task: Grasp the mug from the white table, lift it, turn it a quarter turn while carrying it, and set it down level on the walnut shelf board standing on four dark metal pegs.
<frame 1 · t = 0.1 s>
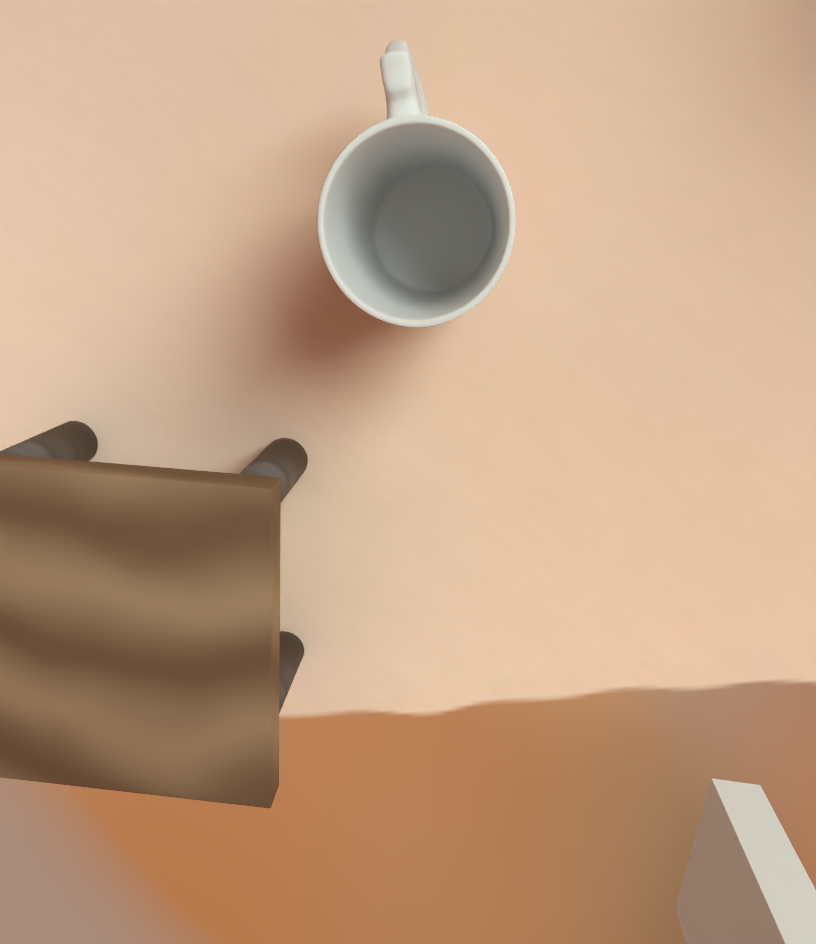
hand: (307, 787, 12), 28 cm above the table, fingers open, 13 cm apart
mug: (429, 197, 36), on the table
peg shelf: (184, 548, 42), on the table
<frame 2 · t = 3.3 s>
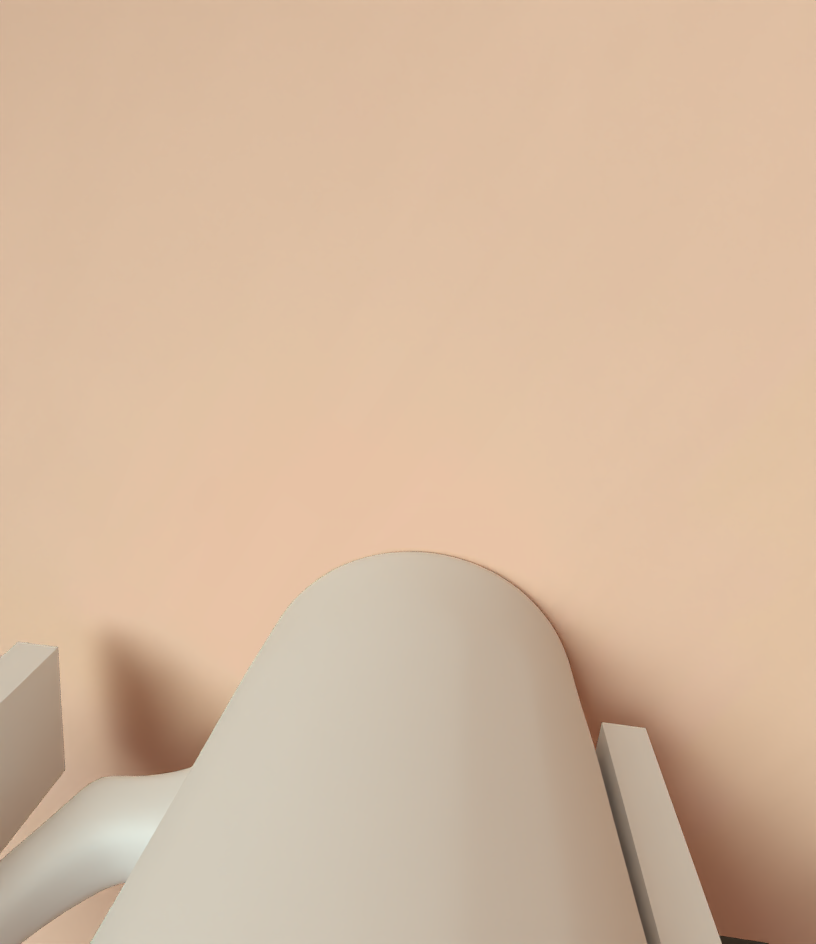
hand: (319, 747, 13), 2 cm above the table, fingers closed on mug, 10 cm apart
mug: (339, 686, 15), on the table, touching gripper
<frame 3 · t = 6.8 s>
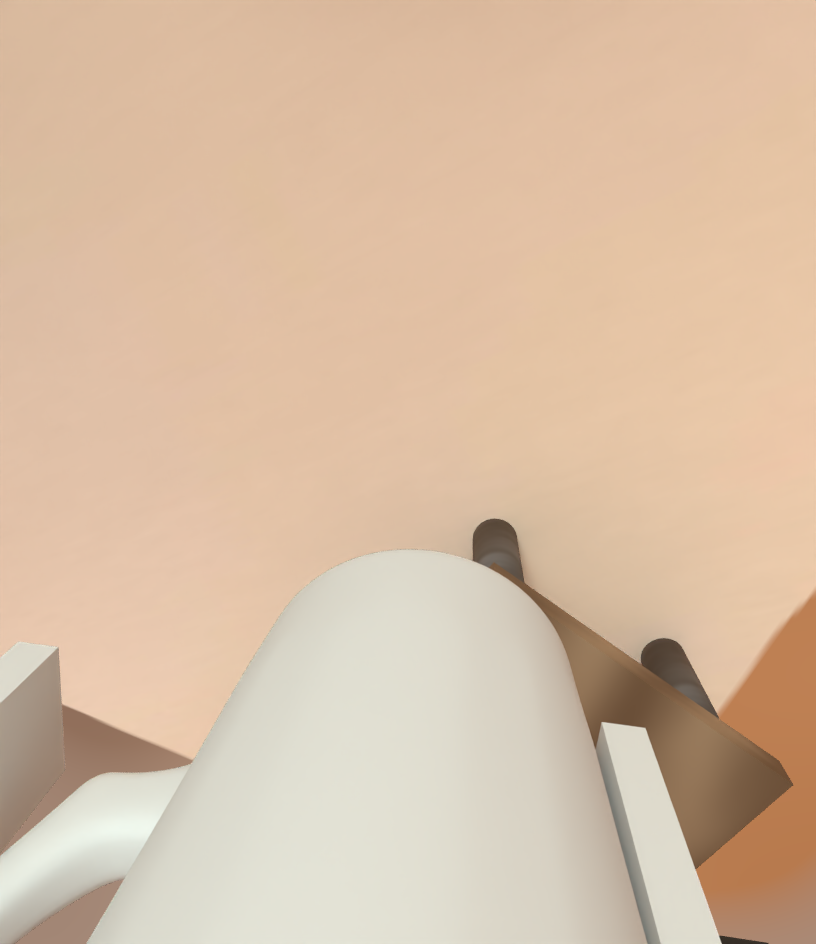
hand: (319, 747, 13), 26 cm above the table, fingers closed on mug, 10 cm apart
mug: (338, 684, 15), point 24 cm above the table, touching gripper
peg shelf: (513, 671, 42), on the table
when the fingers open (14 cm above the table, at t = 10.5 s): mug drops 2 cm, resting on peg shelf.
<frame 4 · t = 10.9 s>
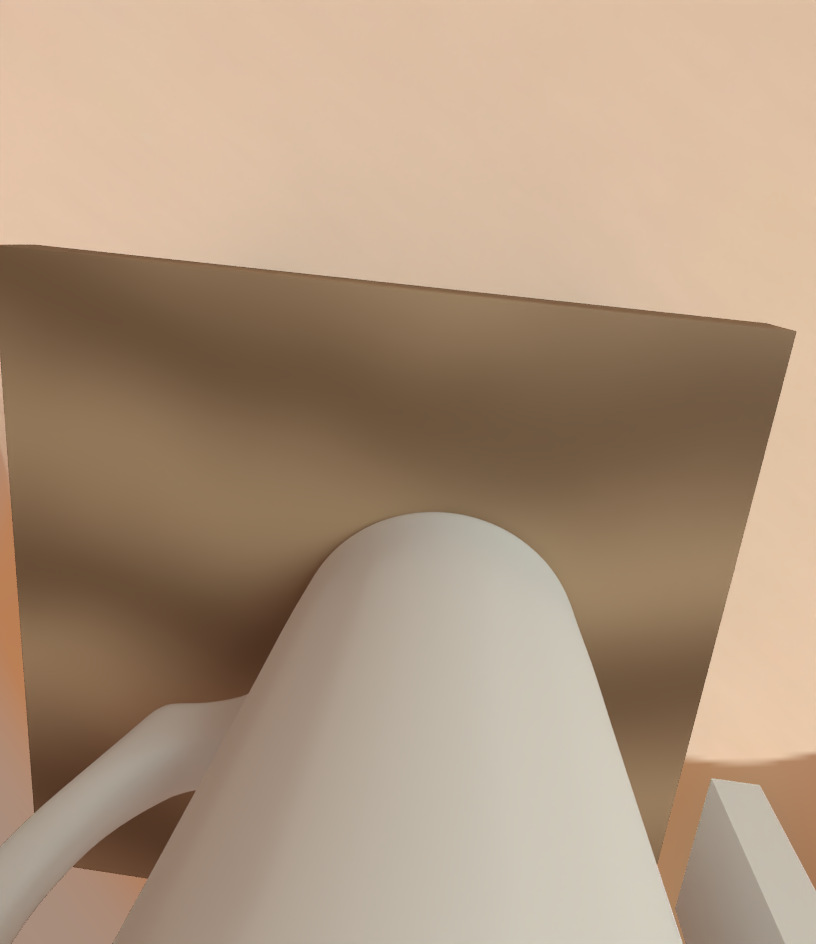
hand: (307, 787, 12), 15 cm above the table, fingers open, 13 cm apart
mug: (366, 635, 17), point 10 cm above the table, touching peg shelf
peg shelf: (397, 493, 27), on the table
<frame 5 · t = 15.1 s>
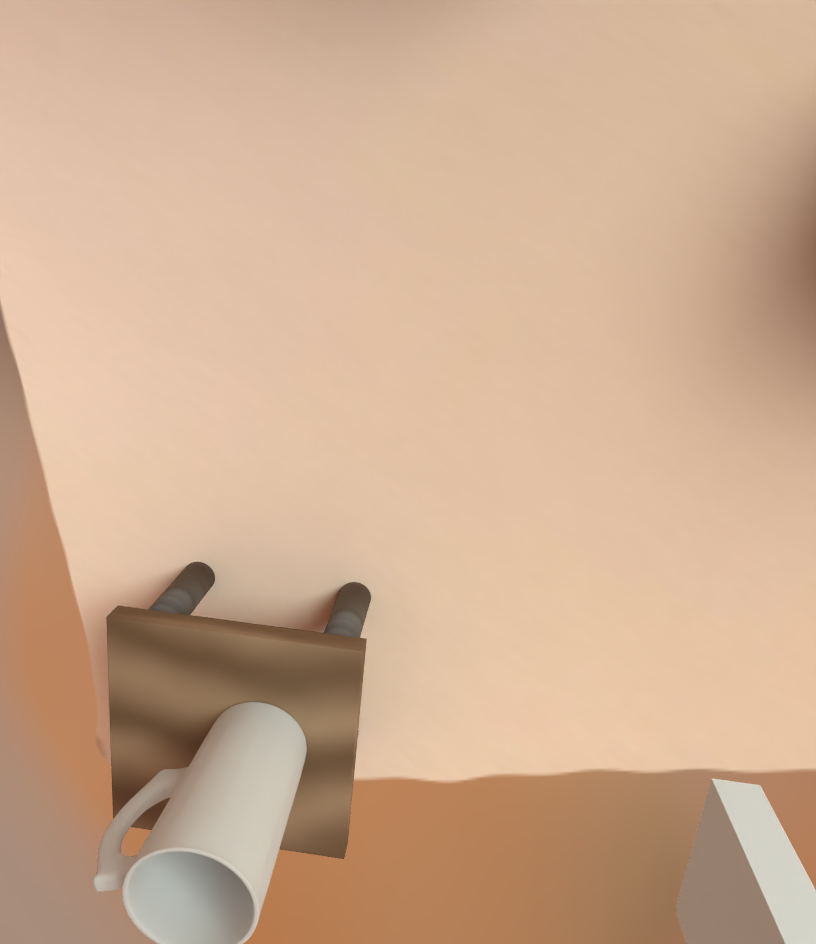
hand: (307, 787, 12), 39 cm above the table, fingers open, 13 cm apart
mug: (236, 740, 47), point 10 cm above the table, touching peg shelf
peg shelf: (273, 655, 57), on the table
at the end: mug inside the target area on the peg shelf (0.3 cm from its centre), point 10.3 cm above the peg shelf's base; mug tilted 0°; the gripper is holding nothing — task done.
